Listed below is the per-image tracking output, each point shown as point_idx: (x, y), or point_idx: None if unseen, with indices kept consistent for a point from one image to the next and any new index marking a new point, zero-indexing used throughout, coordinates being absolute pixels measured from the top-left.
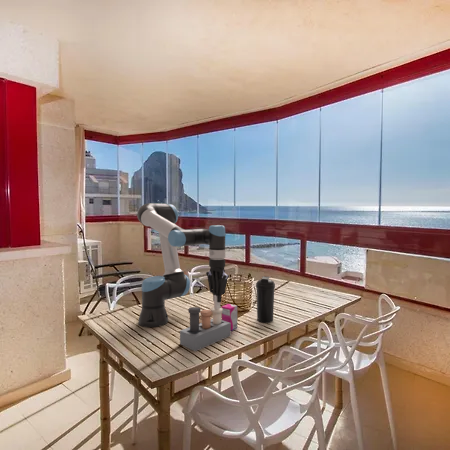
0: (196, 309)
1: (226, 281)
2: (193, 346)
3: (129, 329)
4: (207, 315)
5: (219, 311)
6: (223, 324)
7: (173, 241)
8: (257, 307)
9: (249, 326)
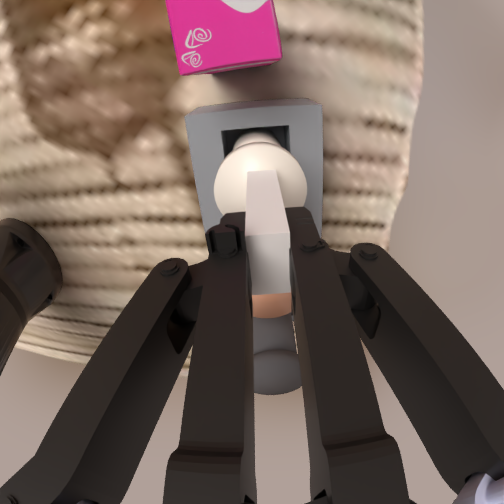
0: (288, 378)
1: (497, 399)
2: None
3: (61, 323)
4: None
5: (303, 200)
6: (308, 152)
7: None
8: None
9: None
